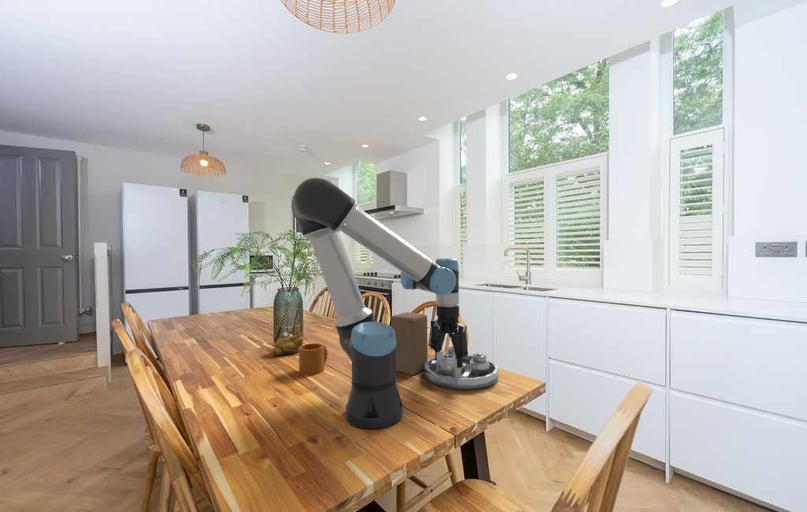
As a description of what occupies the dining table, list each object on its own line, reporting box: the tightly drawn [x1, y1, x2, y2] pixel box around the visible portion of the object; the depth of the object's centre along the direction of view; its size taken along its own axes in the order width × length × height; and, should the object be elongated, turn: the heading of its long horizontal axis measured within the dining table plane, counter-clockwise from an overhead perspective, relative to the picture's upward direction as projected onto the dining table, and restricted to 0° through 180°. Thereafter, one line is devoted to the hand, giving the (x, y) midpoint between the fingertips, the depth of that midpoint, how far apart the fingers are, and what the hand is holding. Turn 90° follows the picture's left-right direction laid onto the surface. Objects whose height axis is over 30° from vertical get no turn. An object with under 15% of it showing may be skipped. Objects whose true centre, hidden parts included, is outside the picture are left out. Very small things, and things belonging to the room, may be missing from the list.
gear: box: [438, 353, 455, 377], centre depth 111 cm, size 7×7×6 cm
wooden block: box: [390, 311, 429, 376], centre depth 122 cm, size 10×10×20 cm
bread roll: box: [271, 334, 304, 357], centre depth 144 cm, size 13×10×8 cm
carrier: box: [423, 345, 499, 391], centre depth 116 cm, size 25×25×8 cm
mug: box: [298, 342, 329, 376], centre depth 123 cm, size 9×12×9 cm
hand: (448, 373), depth 111 cm, fingers closed on gear, 7 cm apart
